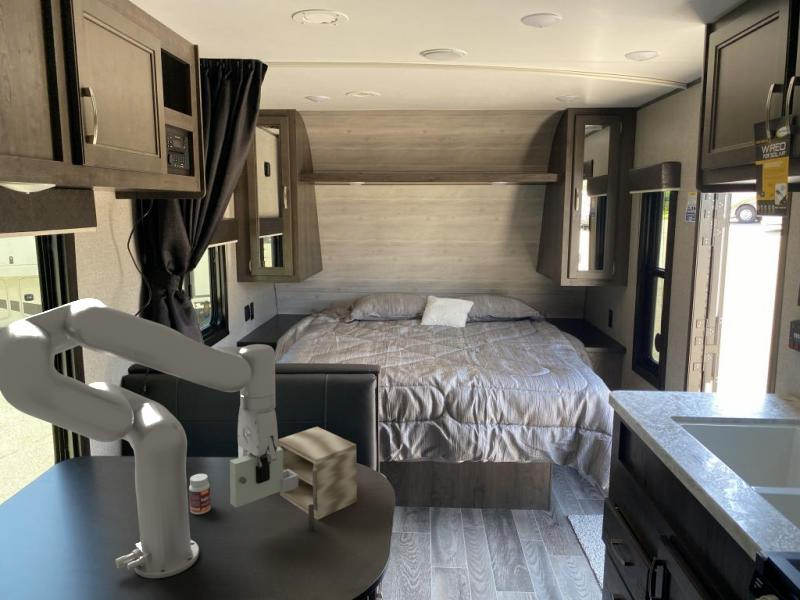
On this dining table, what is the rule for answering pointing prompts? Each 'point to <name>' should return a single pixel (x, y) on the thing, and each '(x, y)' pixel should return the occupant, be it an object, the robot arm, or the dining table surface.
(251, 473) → the door
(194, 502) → the pill bottle
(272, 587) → the dining table surface
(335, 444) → the cabinet
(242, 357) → the robot arm
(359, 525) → the dining table surface
